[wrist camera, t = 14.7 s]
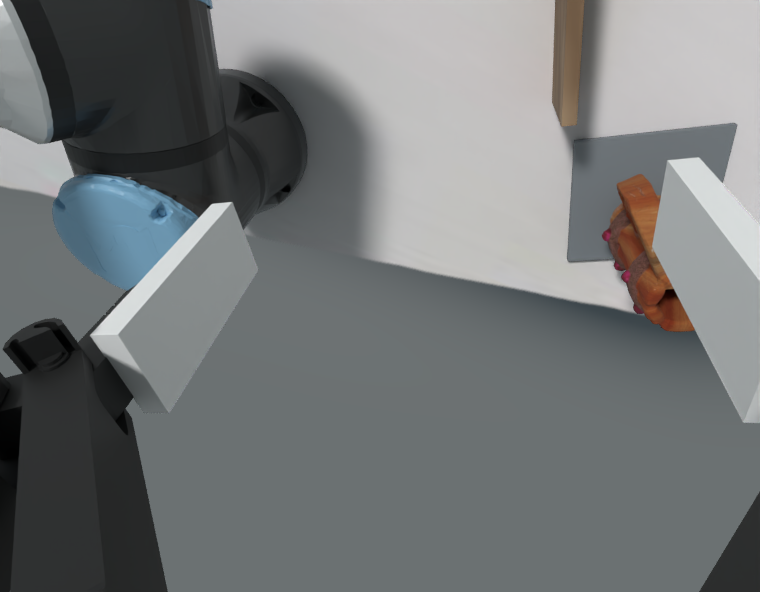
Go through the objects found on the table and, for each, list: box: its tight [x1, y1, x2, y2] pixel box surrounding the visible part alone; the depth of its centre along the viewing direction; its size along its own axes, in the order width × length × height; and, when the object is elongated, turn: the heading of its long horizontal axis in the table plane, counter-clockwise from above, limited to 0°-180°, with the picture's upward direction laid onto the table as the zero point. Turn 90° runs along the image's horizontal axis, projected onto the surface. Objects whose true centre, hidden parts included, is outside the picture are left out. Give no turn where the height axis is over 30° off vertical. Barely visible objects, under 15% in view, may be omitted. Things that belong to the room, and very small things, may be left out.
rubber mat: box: [567, 123, 737, 261], centre depth 51 cm, size 14×14×1 cm
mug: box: [602, 174, 695, 332], centre depth 45 cm, size 15×8×15 cm, turn 33°
